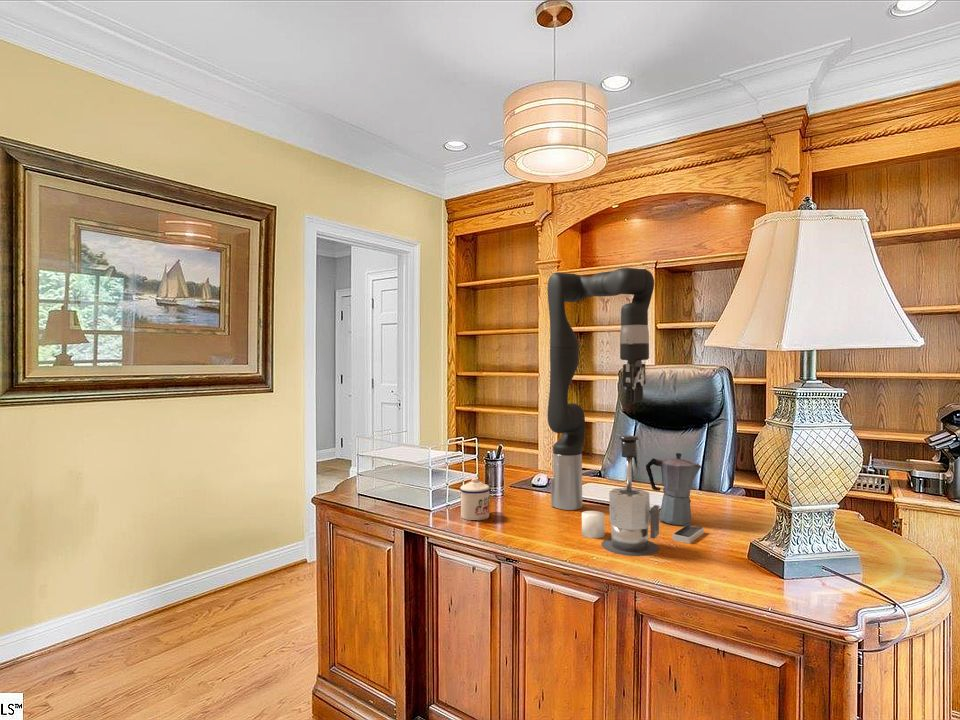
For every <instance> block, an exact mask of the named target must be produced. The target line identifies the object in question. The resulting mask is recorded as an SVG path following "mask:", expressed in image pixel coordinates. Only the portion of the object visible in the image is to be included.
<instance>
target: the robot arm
mask: <svg viewBox="0 0 960 720" xmlns="http://www.w3.org/2000/svg"><path fill="white" fill-rule="evenodd" d="M548 278H549V279H548V282H547V302H548V303H547V304H548V312H549V336H550V337H549V340H550V341H549V367H550V368H549V369H550V370H549V392H548V405H547V424H548V426H549V428H550V430H551V431H552V432H553V433H555V434H561V437H560V438H559V439H558V440H557V441H556V442H555V443H554V444H553V446H552V464H553V465H552V469H553V470H552V472H553V475H552V476H551V477H550V506H551V508H553V507H554V508H556V509H558V510H565V511H574V510H575V511H576V510H580V509H582V508H583V448H584V444H585V432H586V416H585V412H584V410H583V408H582V407H581V405H579V404H577V403H575V402H571V403H568V402H569V389H570V385H571V383H572V380H573V379H574V377H575V374H576V372H577V369H578V367H579V361H580V345H579V340H578V338H577V336H576V333H575V331H574V329H573V328H572V326H571V324H570V323H569V322H570V321H568V317H567V314H566V308H565V307H566V306H565V304H566V303H574V302H579V301H582V300H584V299H587V298H592V297H615V296H618V295H619V296H620V295H632V296H633V298H632V300H631V302H629V303H625V304H623V305H622V307H621V309H620V332H619V359H620V360H621V361H627V362H626V363H624V364H622V387H623V388H624V389H625V404H630V405H631V404H632V405H634V404H635V403H636V402H643V401H644V388H645V385H646V384H647V381H646V363H643V362H642V361H648V360H649V359H650V331H649V326H648V325H649V308H650V305H651V299H652V295H653V293H654V288H655V279H654V276H653V274H652V272H651V271H650V270H649V269H646V268H645V269H644V268H633V267H622V268H621V267H620V268H617V269H615V270H610V271H603V272H598V273H596V274H594V275H592V276H587V275H586V276H584V275H579V274H576V273H568V272H554V273H552V274H551V275H550V276H549V277H548Z"/></svg>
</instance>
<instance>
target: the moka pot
mask: <svg viewBox="0 0 960 720" xmlns="http://www.w3.org/2000/svg"><path fill="white" fill-rule="evenodd" d="M653 465H654V466H657V467H660V469H661V478H662V481H661V483H662V486H663V489H662V491H663V496H662V502H661V505H660V509H659V521H661V522H662V523H663V522H664V523H666V524H670V525H674V526H686V525H692V509H691V507H692V506H691V502H692V500H691V497H690V495H691V490H692V489H693V485H694V484H693V483H694V480H695V478H696V477H697V474H698V473H699V471H700V469H702V467H703V466H702V465H701V464H699V463H697V462H692V461H689V460H685V459H682V453H678V452H677V453H675V458H666V459H657V458H651V459H650V460H649V461H648V462H647V464H645V469H646V472H647V476H648V480H649V483H650V485H651V489H652V490H653V491H657V492H660V491H661V487H659V486H656V484H655V480H654V475H653V472H652V467H651V466H653Z"/></svg>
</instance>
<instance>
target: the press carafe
mask: <svg viewBox="0 0 960 720" xmlns="http://www.w3.org/2000/svg"><path fill="white" fill-rule="evenodd" d="M608 494H609V500H608V501H609V524H610V525H611V529H610V531H611V532H610V533H611V535H610V536H611V537H610V538H611V545H612V547H614V548H615V549H618V550H621V551H626V552H642V551H646V550H647V549H648V548H649V543H648V541H649V526H650V539H656V538H657V537H658V536H659V534H660V519H659V515H660V507H659V505H657V504H654V505H653V506H652V507H651V508H650V491H649V492H648V491H646V490H644V489H641V488H633V487H632V493H627V487H620V488H613V489H611V490H610V491H609V493H608Z"/></svg>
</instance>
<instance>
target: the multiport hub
mask: <svg viewBox="0 0 960 720" xmlns="http://www.w3.org/2000/svg"><path fill="white" fill-rule="evenodd" d="M704 530H705V529H704V527H703V526H698V525H693V524H689V525H684V526H683V527H682V528H680V529H678V530H677V531H676V532H674V533H672V540H673V541H675V542H681V543H685V544H692V542H694V541H696V540H697V539H698V538H699V537H701V536H703V535H704V534H705V531H704Z"/></svg>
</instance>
